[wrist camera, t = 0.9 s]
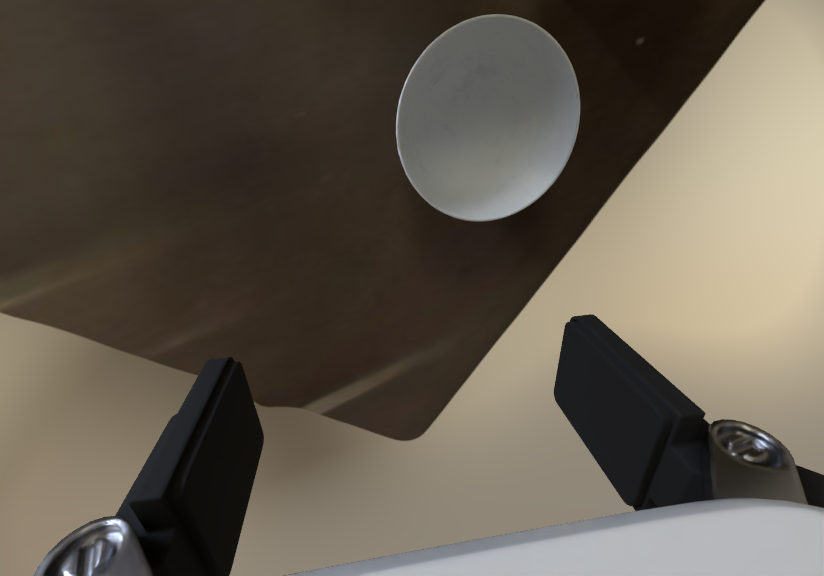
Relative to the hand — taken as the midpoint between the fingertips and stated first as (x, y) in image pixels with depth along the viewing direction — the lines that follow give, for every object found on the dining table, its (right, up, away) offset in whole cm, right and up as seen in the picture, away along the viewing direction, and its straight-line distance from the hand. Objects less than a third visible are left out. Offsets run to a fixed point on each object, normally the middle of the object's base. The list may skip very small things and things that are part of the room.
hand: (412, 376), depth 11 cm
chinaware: (+5, +19, +26) cm, 32 cm away
